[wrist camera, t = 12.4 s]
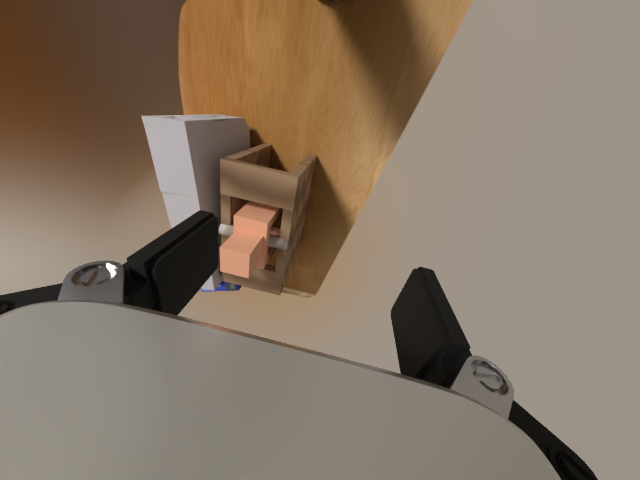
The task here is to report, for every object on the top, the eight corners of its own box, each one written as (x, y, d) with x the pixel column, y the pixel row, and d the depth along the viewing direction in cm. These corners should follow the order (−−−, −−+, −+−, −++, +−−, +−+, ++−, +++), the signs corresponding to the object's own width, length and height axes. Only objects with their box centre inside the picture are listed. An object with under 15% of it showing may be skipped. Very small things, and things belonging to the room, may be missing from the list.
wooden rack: (264, 143, 47) (216, 159, 31) (316, 155, 47) (297, 179, 31) (257, 235, 58) (219, 283, 42) (300, 245, 58) (278, 298, 42)
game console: (233, 235, 59) (183, 286, 42) (220, 114, 46) (139, 115, 28) (255, 238, 59) (214, 291, 41) (249, 117, 45) (184, 120, 28)
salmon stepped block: (261, 190, 43) (215, 231, 29) (288, 196, 43) (254, 240, 28) (258, 230, 47) (217, 282, 33) (282, 235, 47) (251, 291, 33)
